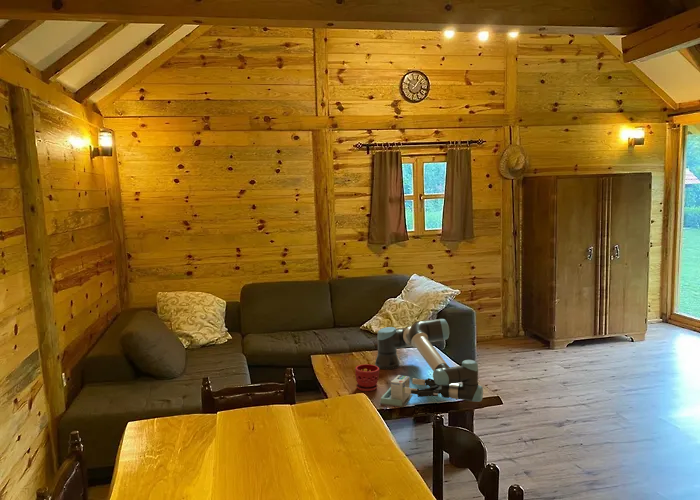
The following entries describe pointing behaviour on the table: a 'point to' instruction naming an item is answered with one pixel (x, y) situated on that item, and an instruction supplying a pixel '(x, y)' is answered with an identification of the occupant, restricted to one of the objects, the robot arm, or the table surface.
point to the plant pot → (367, 377)
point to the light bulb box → (400, 387)
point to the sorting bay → (393, 400)
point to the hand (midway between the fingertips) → (408, 385)
